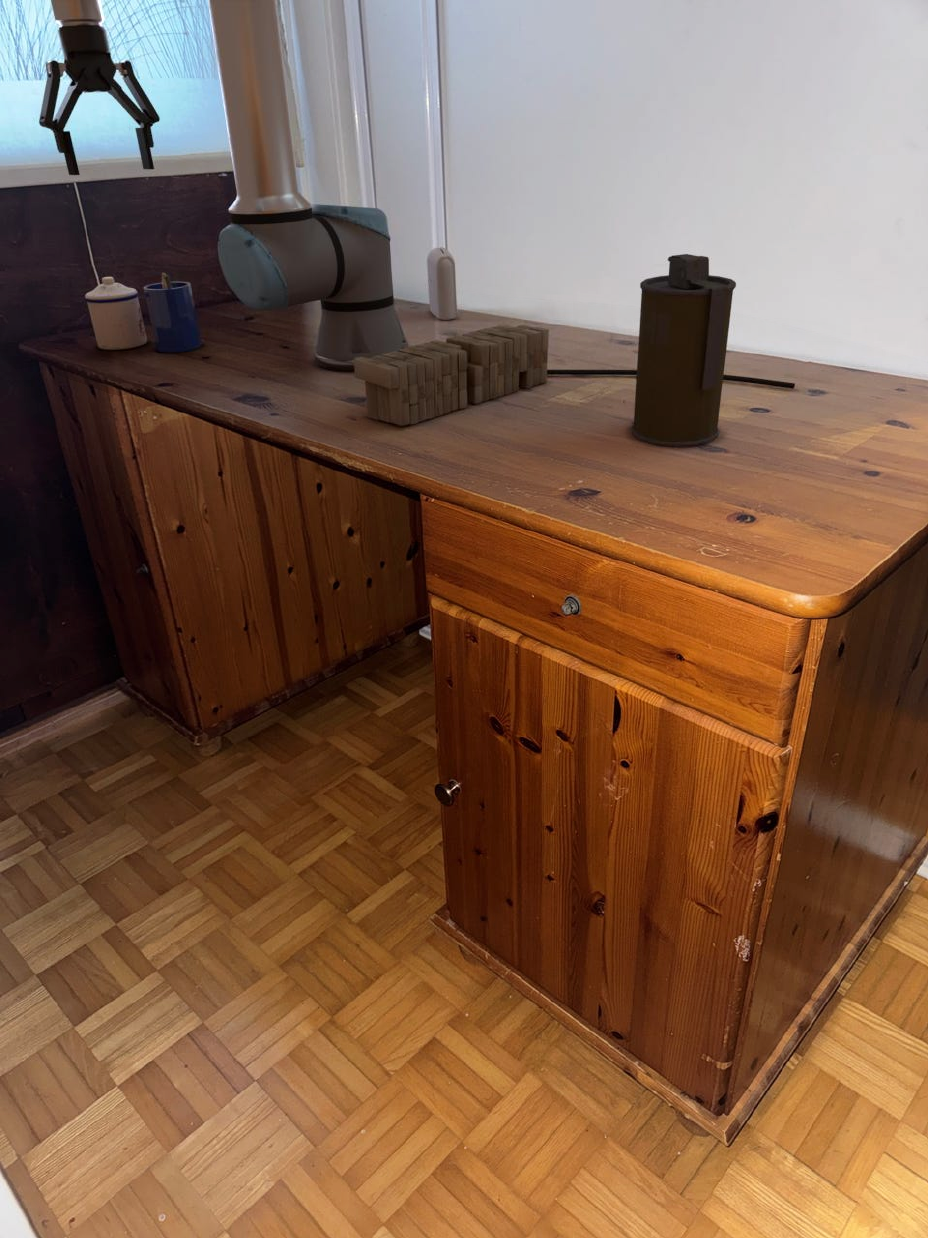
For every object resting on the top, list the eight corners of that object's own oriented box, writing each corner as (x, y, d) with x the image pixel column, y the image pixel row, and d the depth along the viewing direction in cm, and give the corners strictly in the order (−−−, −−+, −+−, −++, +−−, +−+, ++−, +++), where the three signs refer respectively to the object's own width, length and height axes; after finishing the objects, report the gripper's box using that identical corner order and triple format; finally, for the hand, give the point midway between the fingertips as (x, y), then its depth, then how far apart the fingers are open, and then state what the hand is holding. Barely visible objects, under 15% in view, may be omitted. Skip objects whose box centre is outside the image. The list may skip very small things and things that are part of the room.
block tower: (510, 379, 133) (355, 418, 115) (510, 322, 128) (351, 353, 111) (548, 388, 127) (393, 430, 110) (550, 328, 123) (389, 363, 106)
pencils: (190, 343, 156) (177, 272, 150) (173, 346, 154) (159, 275, 148) (184, 341, 158) (170, 271, 152) (166, 344, 156) (152, 274, 150)
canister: (614, 428, 108) (623, 255, 98) (684, 414, 112) (699, 247, 102) (666, 454, 100) (681, 268, 90) (739, 439, 103) (762, 258, 93)
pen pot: (209, 346, 156) (198, 284, 150) (169, 354, 151) (156, 291, 146) (188, 340, 161) (176, 280, 155) (149, 348, 156) (135, 286, 151)
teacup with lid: (156, 344, 158) (141, 276, 153) (106, 353, 154) (89, 283, 148) (133, 334, 167) (119, 269, 161) (85, 342, 162) (68, 276, 156)
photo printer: (427, 311, 175) (424, 245, 169) (448, 309, 176) (445, 243, 170) (437, 321, 167) (434, 252, 160) (459, 319, 167) (457, 250, 161)
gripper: (142, 29, 151) (167, 166, 162) (-7, 25, 137) (32, 176, 147) (162, 25, 146) (187, 167, 157) (10, 21, 132) (49, 177, 143)
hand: (112, 172), depth 152 cm, fingers open, 13 cm apart
